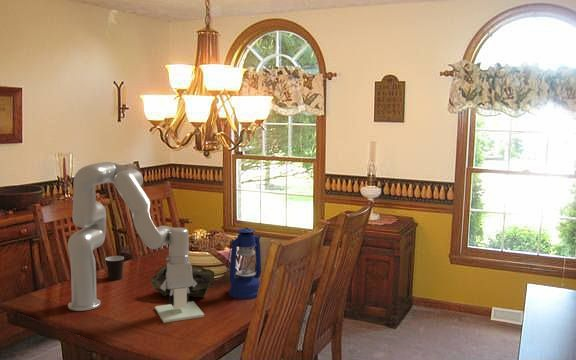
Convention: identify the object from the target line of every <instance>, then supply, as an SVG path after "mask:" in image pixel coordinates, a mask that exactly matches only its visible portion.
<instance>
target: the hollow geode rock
mask: <svg viewBox="0 0 576 360" xmlns="http://www.w3.org/2000/svg"><path fill="white" fill-rule="evenodd" d="M191 266H192V276H193V279H194V280H195V281H196V283H197V285H196V286H195V287H193V289H192V290H191V291H190V293H189V297H193V298H201V299H202V298H203V299H204V298H205V296H206V293H207V292H208V289H209V288H210V285H211V282H214V281H216V280H215V271H213V270H211V269H207V268H204V267H202V266H199V265H197V266H196V265H191ZM166 270H167V265H165V266H161V267H160V268H159V270H158V271H157V273H156V275H154V276H153V277H152V278H151V279H150V281H151V285H152V286H153V287H154V290H155V291H157V292H159V294H161V296H162V297H166V296H167V295H169V294H168V293H167V292H166V291H164V290H162V289H161V285H162V284H163V283H164V281H165V280H166ZM165 287H166V288H167V289H169V288H168V287H167V285H166V286H165Z"/></svg>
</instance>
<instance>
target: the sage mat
mask: <svg viewBox="0 0 576 360" xmlns="http://www.w3.org/2000/svg"><path fill="white" fill-rule="evenodd" d="M154 309H155V311H156V313H157V314H158V316H159V318H160V320H161V321H162V322H163V323H164V324H165V323H171V322H177V321H184V320H185V321H186V320H191V319H199V318H205V313H204V312H203V311H202V310H201V309H200V307H199V306H198V305H197V304H196V302H195V301H193V300H192V301H188V303H187V307H184V308H176V309H174V308H173V306H172V305H171V303H168V304H163V305H156V306H155V307H154Z"/></svg>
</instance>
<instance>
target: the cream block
mask: <svg viewBox="0 0 576 360" xmlns="http://www.w3.org/2000/svg"><path fill="white" fill-rule="evenodd" d="M173 296H174V305H172V304H171V303H170V304H171V305H172V306H173V308H174V309H176V308H184V307H187V287H186V288H178V289H174V291H173Z"/></svg>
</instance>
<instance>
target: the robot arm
mask: <svg viewBox="0 0 576 360" xmlns="http://www.w3.org/2000/svg"><path fill="white" fill-rule="evenodd" d="M107 183H110V184H113V185H114V187H115V189H116V191H117V192H118V193H119V195H120V197H121V199H122V200H123V202H124V204H126V206H127V207H128V209H129V210H130V213H131V216H132V221H133V225H134V228H135V231H136V232H137V234H138V235H139V237H140V239H141V240H142V242H143V243H144V244H145V245H146V246H147V247H148V248H149V249H152V250H158V249H160V248H162V247H164V246H165V245H168V246H169V247H168V248H169V249H168V251H169V252H168V256H166V257H165V261H167V264H166V266H167V270H166V280H165V281H164V283H163V284H162V285H161V289H162V290H164V291H166V292H167V293H168V295H169V296H168V301H169V304H172V305H174V296H173V291H174V289H178V288H186V287H187V303H188V302H189V300H190V296H189V293H190V291H191V290H192V289H193V287H195V286H196V285H197V283H196V281H195V280H194V279H193V276H192V266H193V265H192V263H191V261H190V260H189V254H190V253H189V251H190V250H189V242H190V241H189V239H190V238H189V235H190V234H189V230H188V229H187V228H186V227H174V226H169V225H159V226H158V227H156V225H155V224H154V222H153V219H152V218H151V214H150V209H151V199H150V198H149V196H148V195H147V193H146V191H144V189H143V187H142V186H143V183H144V177H143V174H142V173H141V172H140V171H139V170H137V169H135V168H132V167H129V166H127V165H126V166H125V165H122V164H118V163H116V162H112V161H103V162H97V163H96V162H95V163H91V164H88V165H85V166H83V167H81V168H80V169H78V170H77V172H76V173H75V175H74V177H73V183H72V184H73V194H72V195H73V197H72V213H71V214H72V215H71V217H72V222H73V224H74V226H75V227H78V228H81V229H79V230H78V231H75V232H74V233H73V234H71V235H70V237H68V242H67V249H68V253H69V254H68V255H69V260H70V278H71V280H70V281H71V283H70V284H71V301H69V302H68V303H67V308H68V309H69V310H70V311H75V312H83V311H84V312H85V311H90V310H93V309H96V308H99V307H100V306H101V302H102V301H101V300H100V299H98V298H97V264H96V257H95V255H94V250H96V249H98V248H100V247H101V246H102V245H103V244H104V242H105V239H106V234H107V233H106V231H107V228H106V226H107V212H106V211H107V210H106V208H105V206H104V205H103V204H102V203H101V202H100V201H98V200H97V193H96V189H95V186H98V185H99V186H100V185H104V184H107ZM166 285H167V287H168V288H169V289H167V288H166V287H165V286H166Z"/></svg>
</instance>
